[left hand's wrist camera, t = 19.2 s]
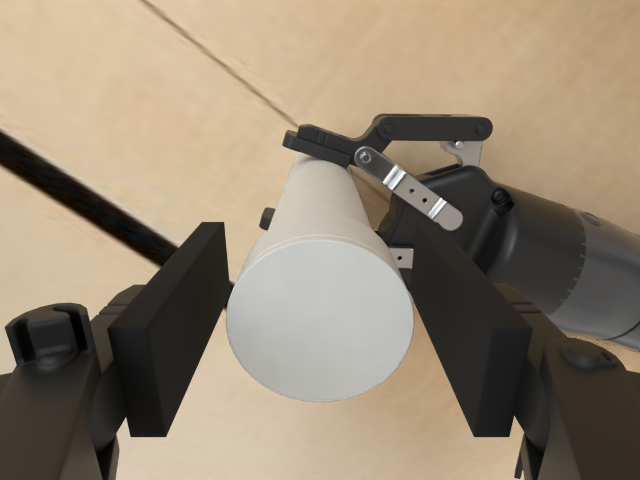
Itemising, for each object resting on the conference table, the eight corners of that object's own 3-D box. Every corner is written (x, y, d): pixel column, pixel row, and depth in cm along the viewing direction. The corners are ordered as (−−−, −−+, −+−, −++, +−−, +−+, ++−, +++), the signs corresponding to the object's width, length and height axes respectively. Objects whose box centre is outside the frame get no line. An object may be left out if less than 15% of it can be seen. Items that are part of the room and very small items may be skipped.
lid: (275, 367, 13) (267, 421, 11) (216, 241, 12) (193, 275, 9) (415, 327, 13) (434, 375, 10) (372, 189, 11) (385, 212, 9)
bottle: (354, 149, 29) (416, 257, 10) (341, 204, 30) (374, 385, 12) (297, 137, 28) (255, 225, 10) (287, 192, 30) (233, 360, 11)
